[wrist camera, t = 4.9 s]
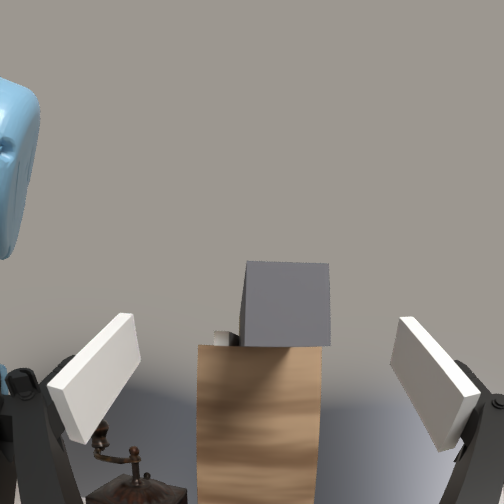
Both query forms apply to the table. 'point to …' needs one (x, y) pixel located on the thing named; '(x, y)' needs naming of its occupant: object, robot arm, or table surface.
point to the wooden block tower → (257, 422)
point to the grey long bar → (285, 305)
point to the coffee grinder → (130, 480)
